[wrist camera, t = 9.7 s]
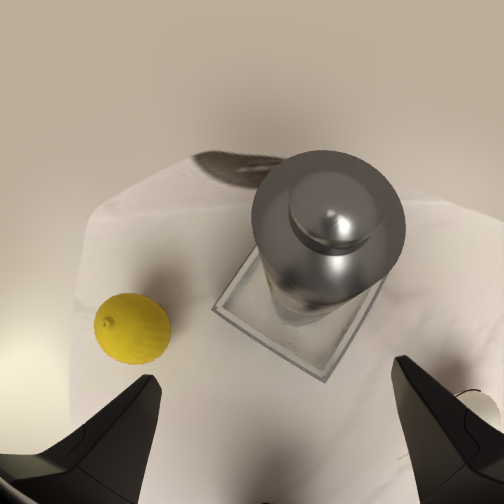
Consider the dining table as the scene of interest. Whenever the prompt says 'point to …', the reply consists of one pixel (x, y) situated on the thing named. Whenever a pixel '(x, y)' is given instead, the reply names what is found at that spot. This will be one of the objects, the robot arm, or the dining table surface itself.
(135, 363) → the lemon
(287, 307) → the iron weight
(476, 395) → the white egg
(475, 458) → the robot arm
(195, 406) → the dining table surface
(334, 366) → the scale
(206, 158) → the dining table surface
